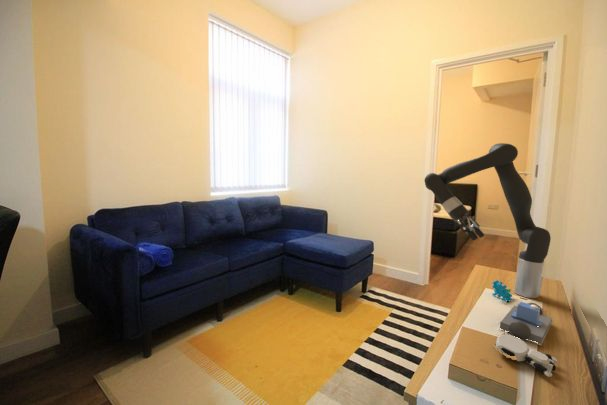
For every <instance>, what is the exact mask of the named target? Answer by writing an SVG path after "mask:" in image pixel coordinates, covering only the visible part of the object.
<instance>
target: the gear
mask: <svg viewBox="0 0 607 405" xmlns="http://www.w3.org/2000/svg"><path fill="white" fill-rule="evenodd" d="M491 287H492V288H493V293H492V294H493V295H495V296H497V298H501V300H502V302H506V300H507V301H509V300H510V301H512V300H513V298H512V297H513V295H512V294H511V291H512V289H511V288H508V289H507V287H508V286H507V285H506V284H504V283H503V282H502V281H499V280H494V281H493V282H492V285H491ZM493 295H492V296H493Z"/></svg>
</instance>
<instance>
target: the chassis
mask: <svg viewBox="0 0 607 405" xmlns="http://www.w3.org/2000/svg"><path fill="white" fill-rule="evenodd" d="M526 303H527V302H526ZM527 304H530V305H532V304H533V305H536V306H538V307H539V308H540V313H539V319H538V320H540V321H543V325H542V327H537V326H534V325H531V324H528V323H526V322H523V321H520V320H517V319H516V318H514V317H511V315H512V314H513V312H516V313H517V308H518V305H514V306H513V307H511V309H510V310H509V311H508V313H506V315H505V316H504V317H503V318H502V319H501V321H500V324H499V329H500V328H501V329H503V330H506V331H509V332H510V333H511V334H510V333H509V334H510V335H512V336H515V337H518V338H520V339H522V341H528V340H532V341H536V342H538V344H537V345H539V346H542V344H543V342H544V340H545V338H546V337H547V334H548V332H549V331H550V328H551V326H552V320H553V318H552V317H551V316H547V315H545V314H544V310H543V308H542V307H541V305H539V304H537V303H535V302H528V303H527ZM526 339H528V340H526Z"/></svg>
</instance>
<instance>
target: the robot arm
mask: <svg viewBox="0 0 607 405" xmlns="http://www.w3.org/2000/svg"><path fill="white" fill-rule="evenodd" d="M518 154H519V151H518V148H517V147H516V146H515V145H513V144H511V143H501V142H500V143H495V144H494V145H492V146H491V147H490V148H489V150H488V153H486V154H485V155H482V156H479V157H477V158H473V159H470V160H466V161H463V162H459V163H456V164H454V165H452V166H449V167H446V168H445V169H444V170H443V171H442V172H440V173H439V174H437V173H434V172H431V173H428V174H426V175H425V177H424V185H425V186H424V187H426V190H427V189H428V190H429V191H431V192H432V193H433V195H434V196H435V198H436V201H438V202H439V204H440V205H441V206H442V207H443V209H444V211H445V212H446V214H448V216H449V217H450V218H451V220H453V221H454V222H455V223H456V225H457V226H458V227H459V229H461V230H460V231H462V232H463V233H464V234H465V233H466V234H467V235H468V236H469V237H470V238H471V239H472V241H476V240H477V239H479V238H481V239H482V238H483V237H484V236H485V234H484V232H483V231H482V230H481V228H480V225H479V223H478V222H477V220H475V219H474V218H473V217H472V215H470V216H468V214H469V212H470V211H469V210H468V208H466V206H465V205H464V204H463V203H462V202H461V201H460V200H459V198H457V197H456V195H455V194H453V192H452V191H451V190H450V189H449V188H448V184H450V183H453V182H455V181H458V180H460V179H464V178H466V177H468V176H471V175H474V174H476V173H479V172H482V171H485V170H487V169H491V168H494V170H495V172H496V174H497V176H498V179H499V180H498V181H499V182H500V186H501V189H502V191H503V194H504V198H505V200H506V203H507V205H508V206H509V209H510V213H511V216H512V217H513V220H514V224H515V229H516V233H517V235H518V238H519V240H520V241H521V242H523V243H524V244H526V250H522V251H520V252H519V254H518V262H517V268H516V274H515V275H516V276H515V280H514V287H513V288H514V289H513V292H514V293H515V294H517V295H519V296H520V297H525V298H527V299H538V298H539V297H540V296H541V290H542V289H541V288H542V283H543V277H542V276H543V275H542V274H543V268H544V262H545V259H546V257H547V256H548V254H549V248H550V244H551V238H552V237H551V233H550V231H549V230H548V229H546V228H543V227H540V226H536V225H535V223H534V220H533V218H532V215H531V210H532V205H533V198H532V195H531V192H530V189H529V187H528V185H527V183H526V182H525V180H524V179H523V177H521V175H520V174H519V172H518V171H517V169H516V167H515V165H514V161H515V160H516V158H518Z"/></svg>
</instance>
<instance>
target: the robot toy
mask: <svg viewBox="0 0 607 405" xmlns="http://www.w3.org/2000/svg"><path fill="white" fill-rule="evenodd" d="M503 332H504V333H505V334H501V335H499V336H498V337H497V338H496V340H495V344H496V346H495V344H493V347H494V348H495V349H496V348H497V349H498V350H500V351H501V352H502V353H504V354H506V355H510V356H516V358H517V361H516V362H523V361H525V362H526V363H527V364H528V365H530V366H531V365H532V367H533V368H534V367H535V368H534V369H535V370H536V371H537V372H539V373H540V374H541V375H545V376H547V377H553V373H552V372H553V371H556V369H557V367H556V365H555V363H558V362H559V360H558V359H557V357H554V356H552V355H551V354H549V353H545V352H540V351H537V350H536V349H530V348H529V346H528V344H527V343H526V342H525V340H520V339H518V338H516V337H514V336H513V335H512V334H510V333H508V332H505V331H503ZM497 349H496V350H497Z"/></svg>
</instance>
